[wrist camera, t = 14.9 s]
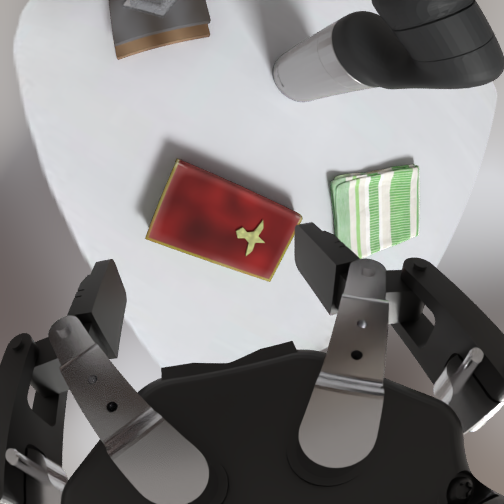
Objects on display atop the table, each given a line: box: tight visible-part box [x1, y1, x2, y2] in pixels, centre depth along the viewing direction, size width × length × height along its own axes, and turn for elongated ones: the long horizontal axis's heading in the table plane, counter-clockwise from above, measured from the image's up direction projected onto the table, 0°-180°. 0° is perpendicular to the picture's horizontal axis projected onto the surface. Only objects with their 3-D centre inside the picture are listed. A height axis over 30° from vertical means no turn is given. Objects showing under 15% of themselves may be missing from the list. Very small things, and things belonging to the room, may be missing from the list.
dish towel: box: [330, 164, 420, 259], centre depth 50 cm, size 18×23×3 cm
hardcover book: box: [145, 159, 302, 282], centre depth 42 cm, size 12×21×4 cm, turn 63°
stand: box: [109, 0, 211, 60], centre depth 25 cm, size 14×14×6 cm
